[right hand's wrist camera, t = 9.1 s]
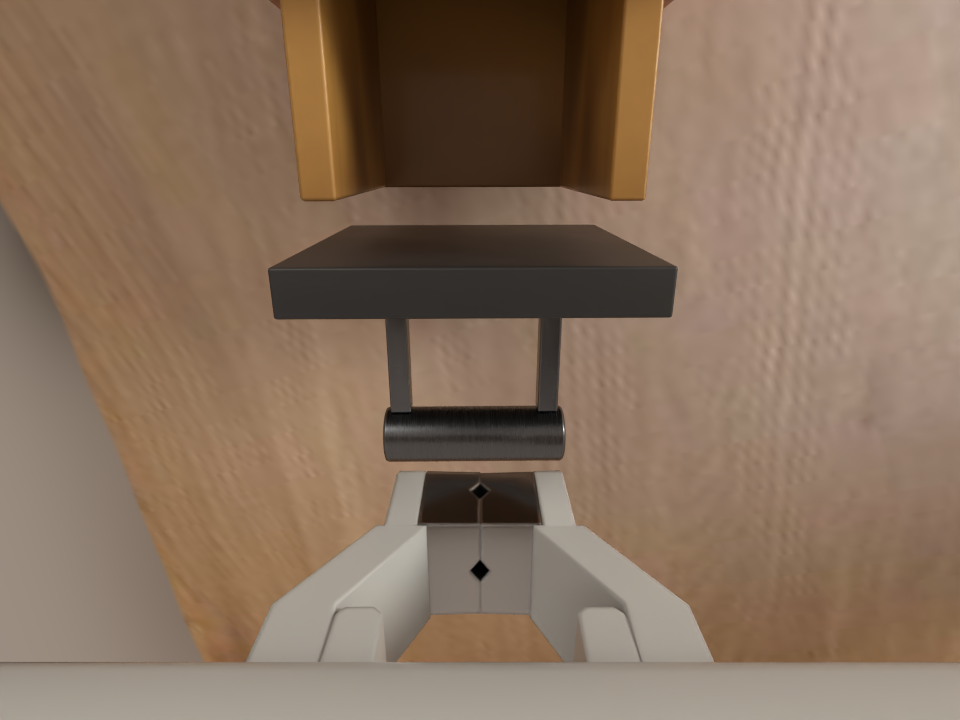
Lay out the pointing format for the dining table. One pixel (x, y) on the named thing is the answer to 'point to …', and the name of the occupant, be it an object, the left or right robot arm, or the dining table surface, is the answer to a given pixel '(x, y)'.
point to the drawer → (472, 184)
